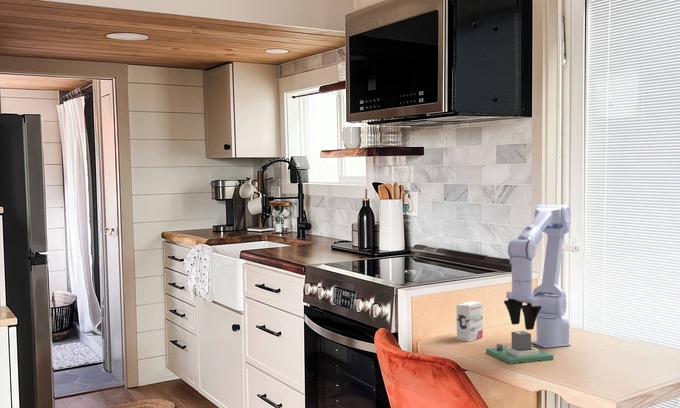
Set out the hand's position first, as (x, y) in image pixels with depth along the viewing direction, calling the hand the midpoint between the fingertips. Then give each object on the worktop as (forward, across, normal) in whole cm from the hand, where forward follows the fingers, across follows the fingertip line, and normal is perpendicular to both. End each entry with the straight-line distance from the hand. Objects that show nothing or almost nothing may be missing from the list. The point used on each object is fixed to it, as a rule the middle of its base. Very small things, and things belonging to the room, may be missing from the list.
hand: (522, 326), depth 200 cm
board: (+9, -2, 0) cm, 9 cm away
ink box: (+9, -27, -3) cm, 29 cm away
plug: (+8, 0, 0) cm, 8 cm away
